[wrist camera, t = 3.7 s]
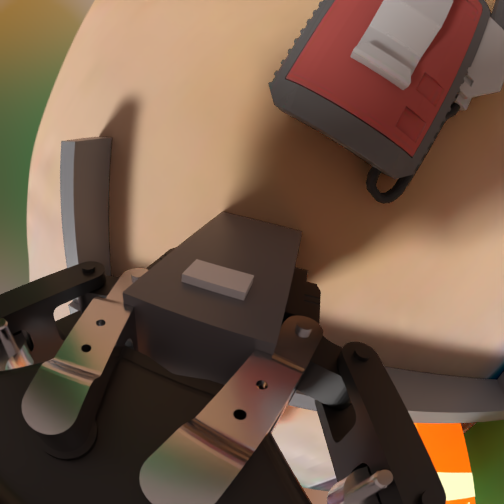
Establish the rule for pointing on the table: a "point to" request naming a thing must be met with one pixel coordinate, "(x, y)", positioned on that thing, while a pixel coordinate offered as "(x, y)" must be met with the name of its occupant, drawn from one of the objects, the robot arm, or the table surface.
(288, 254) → the plug
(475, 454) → the hardback book
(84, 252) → the cradle
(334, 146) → the table surface
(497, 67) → the walkie-talkie
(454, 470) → the orange juice
